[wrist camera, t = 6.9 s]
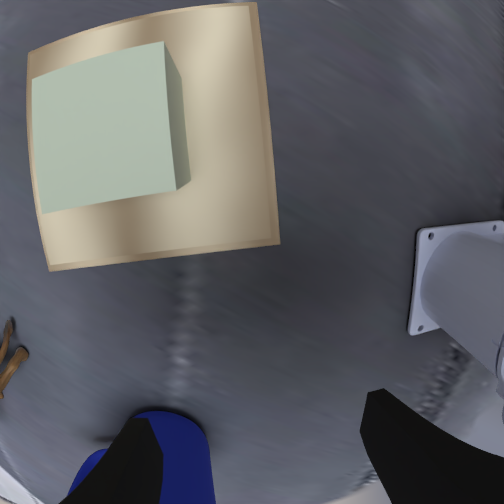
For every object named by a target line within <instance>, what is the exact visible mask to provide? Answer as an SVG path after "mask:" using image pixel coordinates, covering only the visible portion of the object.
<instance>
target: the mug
mask: <svg viewBox="0 0 504 504" xmlns="http://www.w3.org/2000/svg"><path fill="white" fill-rule="evenodd" d="M133 418H148V419H149V422H150V424H151V426H152V429H153V431H154V434H155V436H156V438H157V441H158V443H159V445H160V447H161V450H162V452H163V454H164V457H163V482H162V489H161V495H160V502H159V504H216V501H215V494H214V486H213V478H212V470H211V461H210V452H209V446H208V442H207V439H206V437H205V435H204V433H203V432H202V430H201V429H200V428H199V427H198V426H197V425H196V424H195V423H193V422H192V421H190V420H189V419H187V418H185V417H183V416H180V415H178V414H174V413H170V412H164V411H149V412H144V413H141V414H138V415H136V416H135V417H133ZM107 450H108V449H101V450H98V451H96V452H94V453H93V454H92V455H90V456H89V457H88V458H87V460H86V461H85V462H84V463H83V465H82V466H81V468H80V470H79V471H78V473H77V475H76V477H75V479H74V481H73V483H72V486H71V488H70V490H69V492H68V495H69V494H70V493H71V492H72V491H73V490H74V489H75V488H76V487H77V486H78V485H79V484H80V483H81V481H82V480H83V479H84V478H85V477H86V476H87V475H88V473H89V472H90V471H91V470H92V469H93V468H94V466H95V465H96V464H97V463H98V461H99V460H100V459H101V457H102V456H103V455H104V453H105V452H106V451H107ZM68 495H67V496H68Z"/></svg>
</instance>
